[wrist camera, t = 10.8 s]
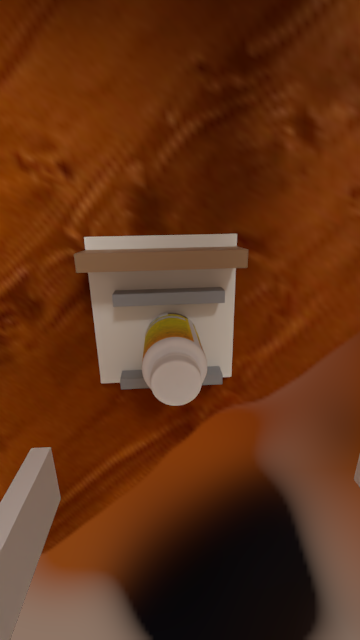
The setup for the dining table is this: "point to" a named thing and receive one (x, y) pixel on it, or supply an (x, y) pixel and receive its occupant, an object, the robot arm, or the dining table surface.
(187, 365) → the supplement bottle
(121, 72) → the dining table surface
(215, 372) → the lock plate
